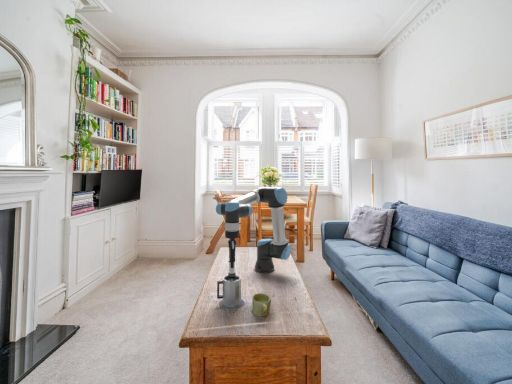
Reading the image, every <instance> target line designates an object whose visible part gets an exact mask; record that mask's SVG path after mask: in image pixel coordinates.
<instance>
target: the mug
mask: <svg viewBox="0 0 512 384" xmlns="http://www.w3.org/2000/svg"><path fill="white" fill-rule="evenodd" d="M271 299H272V298H271V296H269V295H268V294H266V293H262V292H261V293H256V294H255V293H254V295H253V296H252V309H251V310H252V313H253V315H255V316H257V317H258V316H260V317H264V316H267V315H268V314H269V313H270V309H271V301H272V300H271Z"/></svg>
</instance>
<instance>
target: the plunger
mask: <svg viewBox="0 0 512 384" xmlns="http://www.w3.org/2000/svg"><path fill="white" fill-rule="evenodd" d="M227 275H228V278H231V281H233V278H235V277H236V275H237V274H236V272H234V274H229V272H228V273H227Z"/></svg>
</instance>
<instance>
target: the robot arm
mask: <svg viewBox="0 0 512 384" xmlns="http://www.w3.org/2000/svg"><path fill="white" fill-rule="evenodd" d="M287 202H288V192H287V191H286V189H285V188H284V187H280V186H263V187H257V188H256V189H253V190H250V191H249V193H246V194H244V195H243V196H239V197H237V198H234V199H231V200H228V201H226V202H218V203H217V204H216V206H215V212H216V214H217V215H220V216H225V220H224V221H225V222H224V225H223V226H224V229H225V231H224V237H225V238H226V239H229V240H228V241H227V244H228V258H229V260H228V263H229V266H228V267H229V268H228V270H229V271H228V273H229V274H234V272H235V271H236V270H235V262H236V248H237V246H236V245H237V241H236V239H238V238H240V219H241V218H247V217H250V216H252V214H253V211H254V209H253V207H252V205H253V204H254V205H256V204H260V203H262V204H267V207H268V208H269V209H270V212H271V213H270V215H271V225H272V234H273V239H272V238H262V239H259V240H258V241H257V243H256V261H255V264H254V270H255V271H256V272H259V273H264V272H266V273H271V271H272V272H274V271H275V265H274V261H273V259H278V260H284V261H288V259H289V258H290V256H291V255H292V245H291V243H289V240H288V239H287V238H286V229H285V227H286V226H285V217H284V207H285V205H286V204H287ZM273 270H274V271H273ZM235 273H236V272H235Z"/></svg>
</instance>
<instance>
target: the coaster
mask: <svg viewBox="0 0 512 384" xmlns="http://www.w3.org/2000/svg"><path fill="white" fill-rule="evenodd" d="M218 306H219V307H220V308H221V309H224V310H228V311H229V310H231V311H235V310H238V309H241V308H243V307H244V306H245V301H244V299H242V298H241V304H240V305H239V306H237V307H234V308H229V307H225V306H224V305H223V299H221V300H220V301H219V303H218Z"/></svg>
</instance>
